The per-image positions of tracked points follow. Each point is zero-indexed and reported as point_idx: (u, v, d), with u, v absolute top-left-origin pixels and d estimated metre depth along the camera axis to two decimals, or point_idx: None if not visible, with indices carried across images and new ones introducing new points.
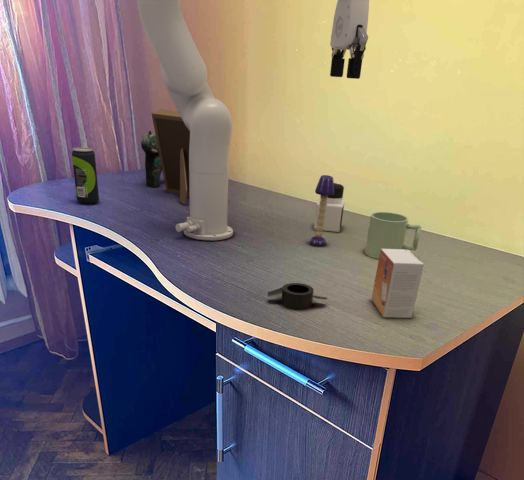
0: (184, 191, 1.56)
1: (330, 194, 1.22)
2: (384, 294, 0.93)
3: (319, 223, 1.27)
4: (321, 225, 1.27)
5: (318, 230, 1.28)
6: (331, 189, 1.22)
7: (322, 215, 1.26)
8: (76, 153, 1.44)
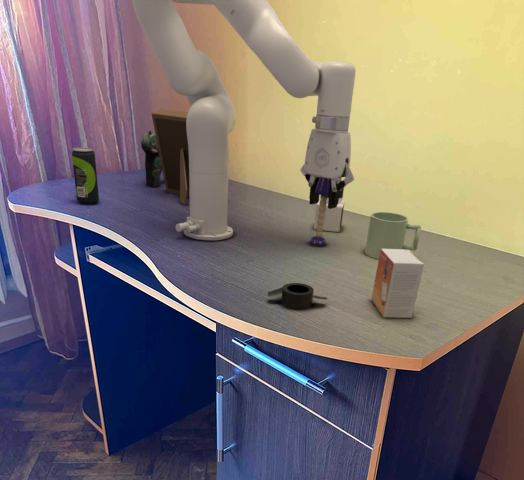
0: (184, 191, 1.56)
1: None
2: (384, 294, 0.93)
3: (319, 223, 1.27)
4: (321, 225, 1.27)
5: (318, 230, 1.28)
6: (331, 188, 1.22)
7: (322, 215, 1.26)
8: (76, 153, 1.44)
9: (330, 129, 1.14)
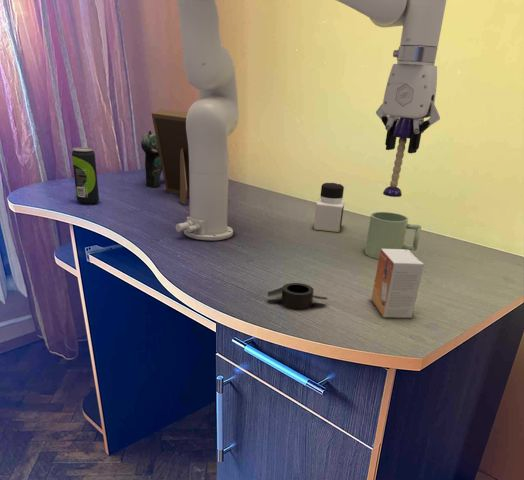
0: (184, 191, 1.56)
1: None
2: (384, 294, 0.93)
3: (396, 171, 1.16)
4: (398, 173, 1.17)
5: (394, 179, 1.17)
6: (412, 130, 1.11)
7: (399, 161, 1.15)
8: (76, 153, 1.44)
9: (417, 60, 1.03)
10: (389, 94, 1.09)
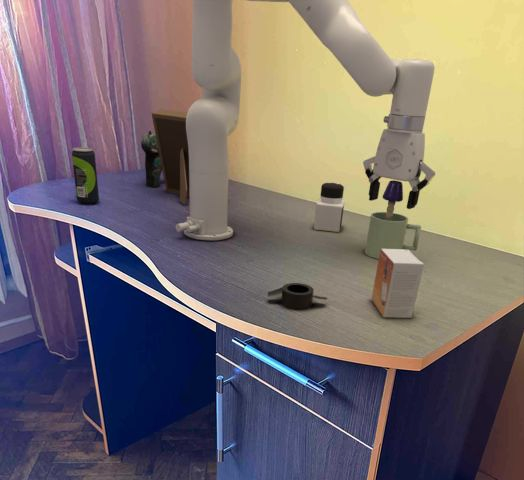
0: (184, 191, 1.56)
1: (399, 200, 1.18)
2: (384, 294, 0.93)
3: None
4: None
5: None
6: (400, 194, 1.18)
7: None
8: (76, 153, 1.44)
9: (406, 129, 1.09)
10: (379, 157, 1.16)
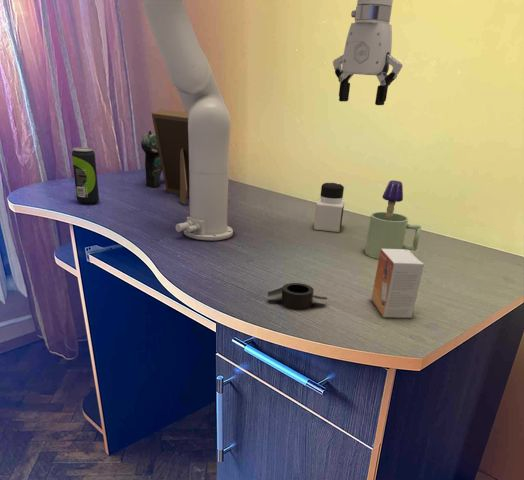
0: (184, 191, 1.56)
1: (399, 200, 1.18)
2: (384, 294, 0.93)
3: None
4: None
5: None
6: (400, 194, 1.18)
7: None
8: (76, 153, 1.44)
9: (372, 19, 1.10)
10: (348, 52, 1.16)
